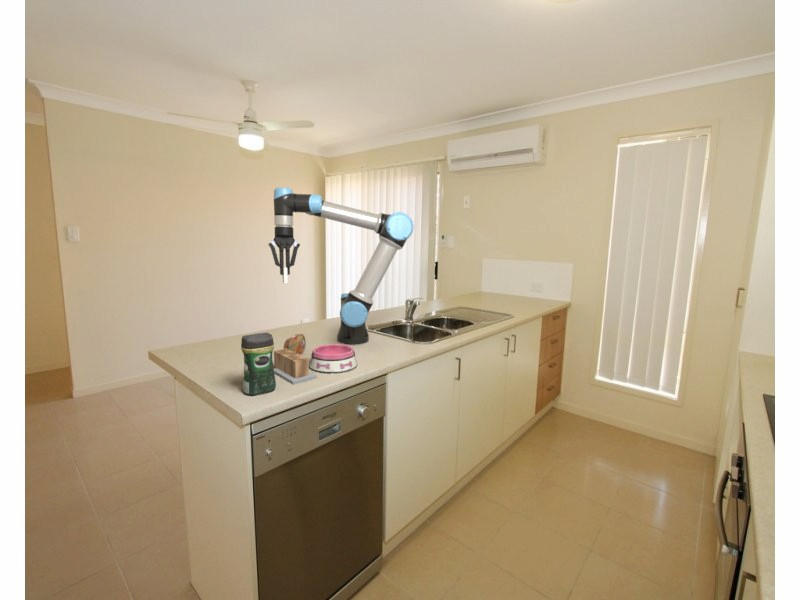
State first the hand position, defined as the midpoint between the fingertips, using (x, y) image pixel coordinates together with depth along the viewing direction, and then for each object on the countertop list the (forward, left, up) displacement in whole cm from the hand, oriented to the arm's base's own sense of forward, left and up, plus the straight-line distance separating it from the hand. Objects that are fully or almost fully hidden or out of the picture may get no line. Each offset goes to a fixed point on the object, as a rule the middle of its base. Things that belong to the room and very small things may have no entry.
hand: (285, 282), depth 163 cm
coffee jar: (+18, +43, -30) cm, 55 cm away
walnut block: (+7, +24, -25) cm, 36 cm away
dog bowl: (-11, +29, -30) cm, 43 cm away
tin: (-1, +11, -30) cm, 32 cm away
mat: (+5, +34, -29) cm, 45 cm away
